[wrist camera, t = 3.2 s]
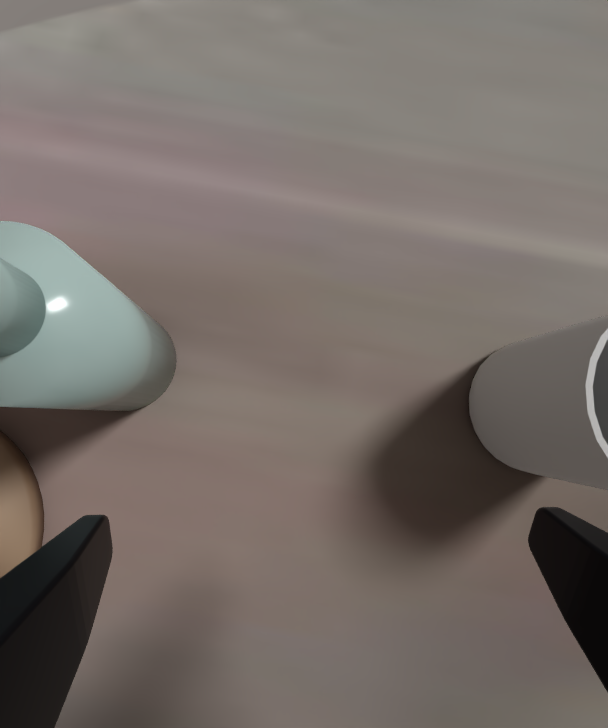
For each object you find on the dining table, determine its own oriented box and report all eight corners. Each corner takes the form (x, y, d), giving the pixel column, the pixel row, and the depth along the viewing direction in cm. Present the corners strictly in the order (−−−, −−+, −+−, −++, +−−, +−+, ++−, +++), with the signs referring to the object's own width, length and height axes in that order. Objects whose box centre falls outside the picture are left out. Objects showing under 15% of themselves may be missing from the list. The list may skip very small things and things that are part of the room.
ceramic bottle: (141, 429, 21) (-90, 453, 8) (53, 378, 21) (-341, 310, 8) (195, 344, 22) (74, 224, 8) (110, 294, 22) (-152, 92, 8)
